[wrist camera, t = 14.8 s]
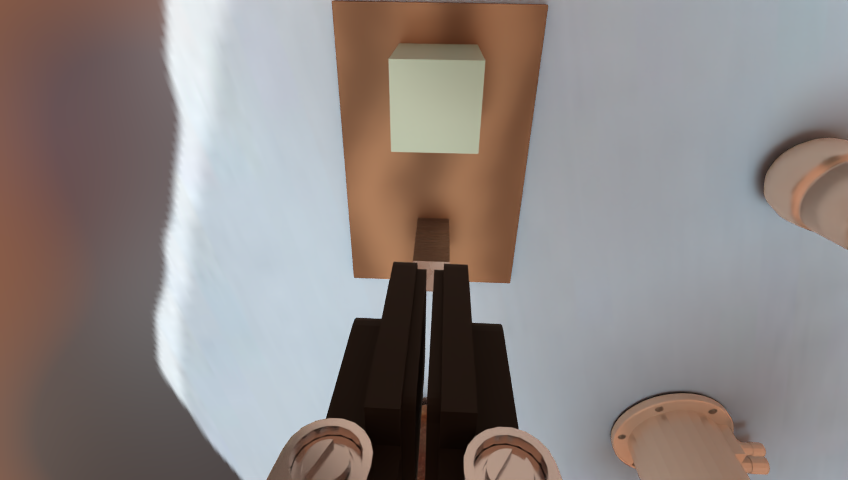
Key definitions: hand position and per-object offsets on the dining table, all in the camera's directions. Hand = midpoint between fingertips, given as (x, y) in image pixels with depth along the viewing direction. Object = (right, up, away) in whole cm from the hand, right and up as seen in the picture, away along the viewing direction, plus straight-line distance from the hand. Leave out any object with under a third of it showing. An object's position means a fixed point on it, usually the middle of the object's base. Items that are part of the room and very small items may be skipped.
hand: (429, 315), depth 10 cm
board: (+1, +8, +25) cm, 26 cm away
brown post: (+1, +2, +27) cm, 27 cm away
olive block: (+1, +13, +21) cm, 24 cm away
